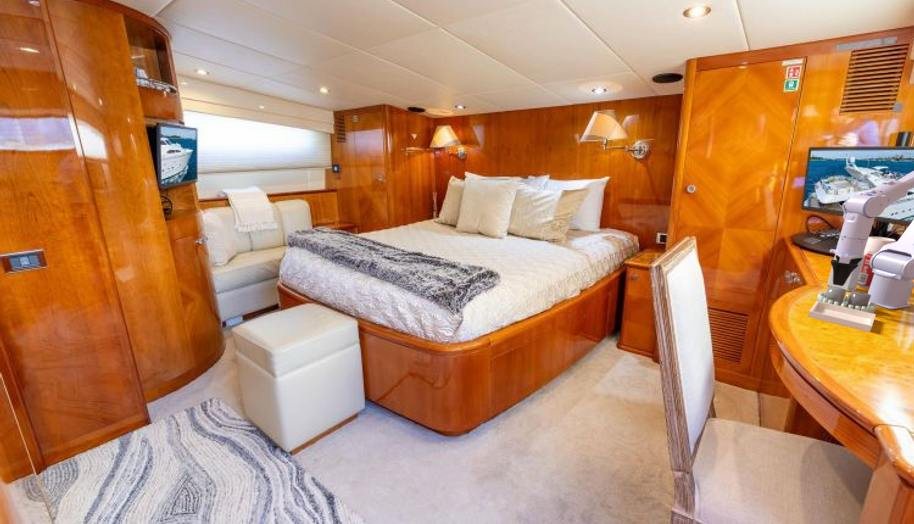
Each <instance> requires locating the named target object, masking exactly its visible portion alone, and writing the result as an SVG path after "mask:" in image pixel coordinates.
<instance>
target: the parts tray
mask: <svg viewBox="0 0 914 524" xmlns="http://www.w3.org/2000/svg"><path fill="white" fill-rule="evenodd" d="M807 315H808V316H807V317H808V318H812V319H816V320H819V321H823V322H828V323H833V324H835V325H839V326H844V327H848V328H851V329H856V330H860V331H863V332H868V333H871V330H872V327H873V323H874V321H875V318H876V315H877V314H876V313H873V314H872V313H868V312H864V311H859V310H855V309H850V308H846V307H841V306H837V305H833V304H828V303H824V302H819V301H817V300H816V302H815V303H814V304H813V306H812V307H811V308H810V309H809V312H808V314H807Z"/></svg>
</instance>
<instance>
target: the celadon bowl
mask: <svg viewBox="0 0 914 524" xmlns="http://www.w3.org/2000/svg"><path fill="white" fill-rule="evenodd" d="M826 292H827V291H823V292H822V291H820V292H818V294H817V297H816V302H817V301H819V302H824V303H827V301H828V304H832V303H833V300H828V298H825V296H826ZM850 295H851V293H846V294H845V297H844V300H843V303H842V304H841V305H839V302H834V305H837V306H841V307H846V308H850V309H853V307H854V306H853V305H849V306H848V307H847V304H848V301H849V298H850ZM877 307H878V305H876V304H875V303H874V302H872V301H870V300H869V303H868V306H867V307H865V306H862V308H861V307H860V306H856V307H855V310H859V311H860V308H861V311H864V312H868V313H872V314H874V313H875V312H876V309H877Z"/></svg>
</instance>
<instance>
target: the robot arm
mask: <svg viewBox="0 0 914 524" xmlns="http://www.w3.org/2000/svg"><path fill="white" fill-rule="evenodd" d="M912 189H914V170H913V171H911V172H909V173H907V174H906V175H904V176H902V177H901V178H899V179H897V180H894V179H890V180H884V181H882V183H881V184H878V185H877V186H876V187H873V188H872V189H868V190H866V192H864V193H862V194H857V193H856V194H853V195H851V196H849V197H848V198H847V199H846V200H845V201H844V203H842V207H841V208H842V211H843V216H842V218H843V220H844V221H843V224H842V228H841V232H840V234H839V238H838V241H837V244H836V247H835V248H836V249H833V248H830V250H829V253H833V254H836V259H837V260H834V258H832V259H831V260H830V264H831V268H832V267H833V284H834V285H839V286H843V285H844V284H845V282H846V281H847V279H848V277H849V276H850V274H851V272H852V271H853V270H854V269H855V268H857V267H858V263H859V262H860V261H861V260H862V257H863V256H864V250H865V247H866V244H867V241H868V238H869V237H870V234H871V230H872V227H873V226H874V225H873V224H874V222H875V218H876V217H879V216H881V215H882V213H884V211H885V209H887V208H888V207H889V206H890V205H892V204H893V203H896V202H898V201H899V200H901V199H903V198H905V197H906V196H907V194H908V193H909V190H912ZM870 267H871V268H872V269H873V270H872V272H874V276H873V279H872V282H871V285H870V288H869V289H868V292H867V294H870V295H871V297H870V301H872V302H874V303H875V304H876V305H877V307H882V308H885V309H888V310H895V309H902V308H903V309H904V308H908V307H911V306H912V304H909V300H910V298H911V295H912V292H913V289H914V219H912V221H911V223H910V224H909V225H908V226H907V228H906V229H905V230H904V232H903V233H902V235H901V236H900V238H898V240H896V241H895V242H894V243H890V244H887V245H884V246H883V247H882V248H881V249H880V250H879V251H878V252H876V253H875V254H874V255H873V256H872V257H871V259H870Z"/></svg>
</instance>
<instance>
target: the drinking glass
mask: <svg viewBox="0 0 914 524" xmlns="http://www.w3.org/2000/svg"><path fill="white" fill-rule="evenodd" d="M894 242H897V240H896V239H895V238H888V237H883V236H869V237H868V241H867V244H866V247H865V250H864V253H863V254H864V255H866V254H867V253H868V252H878V251H879V250H880V249H881V248H882V247H883V246H884V245H887V244H890V243H894Z"/></svg>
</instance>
